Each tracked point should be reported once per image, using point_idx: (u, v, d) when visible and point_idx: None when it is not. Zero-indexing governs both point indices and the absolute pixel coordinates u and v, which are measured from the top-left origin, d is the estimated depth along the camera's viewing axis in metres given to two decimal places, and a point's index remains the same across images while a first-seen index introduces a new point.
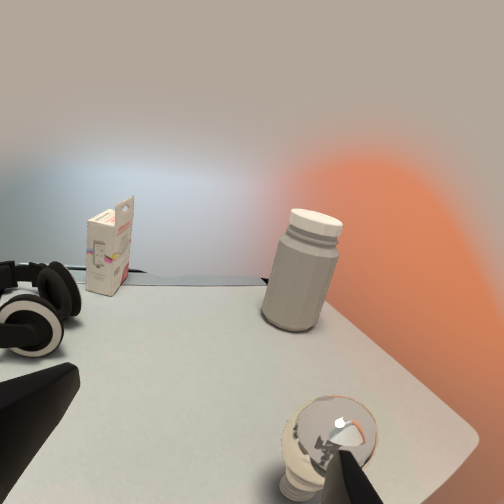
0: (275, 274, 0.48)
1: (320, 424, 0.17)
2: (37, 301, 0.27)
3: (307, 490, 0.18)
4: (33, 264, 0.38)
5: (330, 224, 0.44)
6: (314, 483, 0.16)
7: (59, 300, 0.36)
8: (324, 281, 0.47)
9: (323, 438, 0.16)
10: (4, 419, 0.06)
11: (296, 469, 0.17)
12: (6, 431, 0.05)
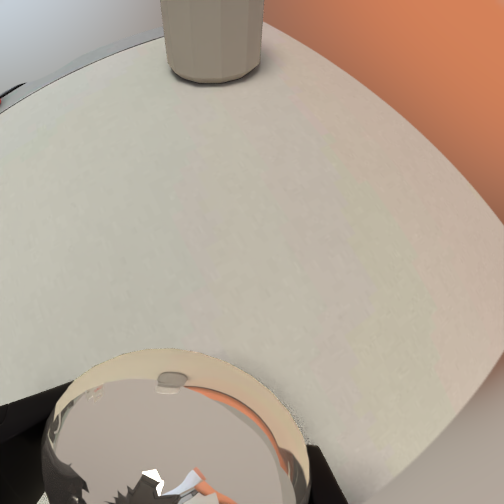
0: (164, 8, 0.21)
1: None
2: None
3: None
4: None
5: None
6: None
7: None
8: None
9: None
10: (29, 438, 0.06)
11: None
12: (31, 450, 0.05)
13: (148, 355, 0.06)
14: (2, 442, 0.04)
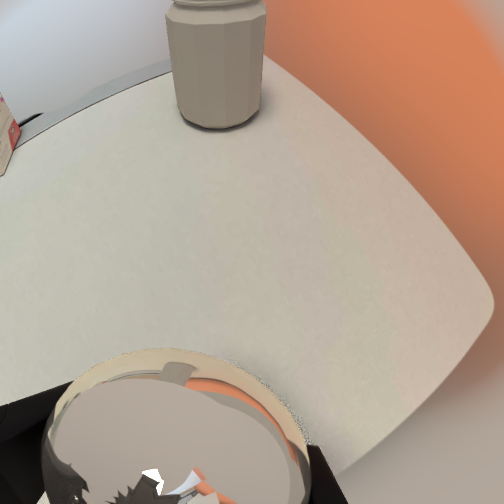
0: (174, 61, 0.26)
1: None
2: None
3: None
4: None
5: None
6: None
7: None
8: (249, 55, 0.25)
9: None
10: (29, 437, 0.06)
11: None
12: (31, 450, 0.05)
13: (148, 355, 0.06)
14: (2, 442, 0.04)
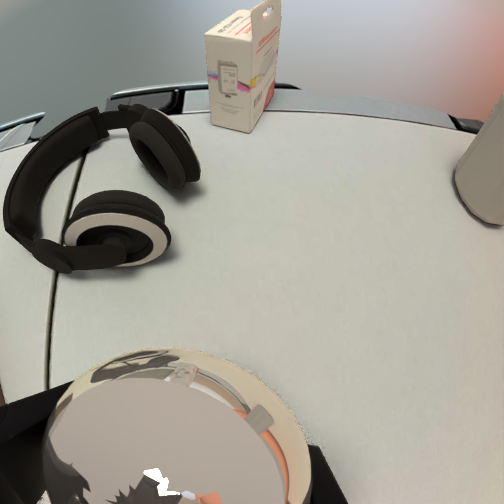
0: (489, 146, 0.24)
1: None
2: (119, 210, 0.19)
3: None
4: (124, 107, 0.28)
5: None
6: None
7: None
8: None
9: None
10: (29, 437, 0.06)
11: None
12: (31, 450, 0.05)
13: (150, 354, 0.06)
14: (2, 442, 0.04)
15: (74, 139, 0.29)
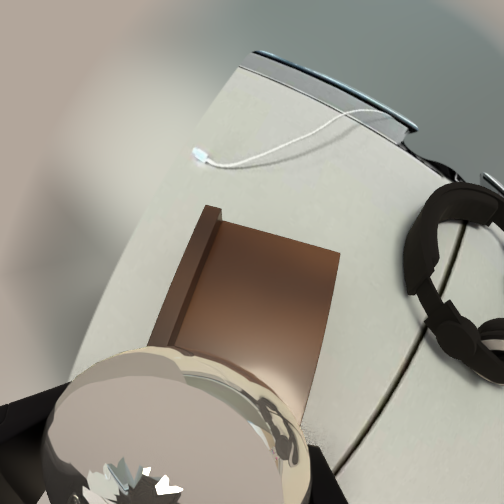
0: None
1: None
2: None
3: None
4: None
5: None
6: None
7: None
8: None
9: None
10: (29, 437, 0.06)
11: None
12: (31, 450, 0.05)
13: (149, 352, 0.06)
14: (2, 442, 0.04)
15: (476, 210, 0.26)
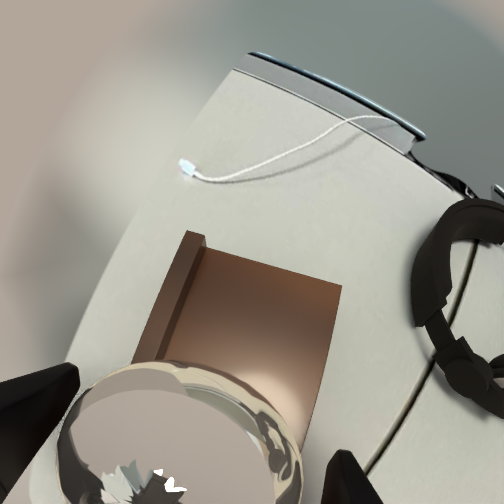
0: None
1: None
2: None
3: None
4: None
5: None
6: None
7: None
8: None
9: None
10: (4, 419, 0.06)
11: None
12: (6, 431, 0.05)
13: (155, 367, 0.07)
14: None
15: (490, 229, 0.23)
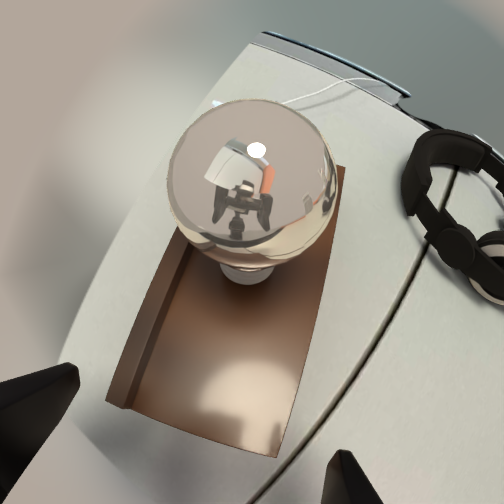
0: None
1: (199, 154, 0.10)
2: None
3: (246, 271, 0.16)
4: None
5: None
6: (232, 266, 0.13)
7: None
8: None
9: (206, 183, 0.10)
10: (4, 419, 0.06)
11: (193, 243, 0.12)
12: (6, 431, 0.05)
13: None
14: None
15: (465, 155, 0.29)
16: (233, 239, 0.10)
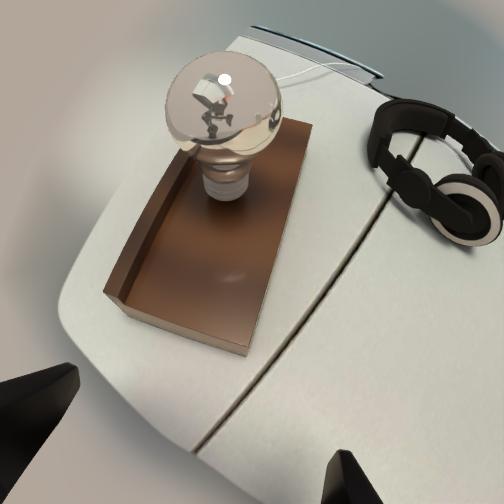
0: None
1: (186, 79, 0.14)
2: (495, 202, 0.22)
3: (222, 179, 0.20)
4: (476, 134, 0.31)
5: None
6: (208, 160, 0.17)
7: None
8: None
9: (190, 94, 0.14)
10: (4, 419, 0.06)
11: (181, 143, 0.17)
12: (6, 431, 0.05)
13: None
14: None
15: (429, 121, 0.34)
16: (207, 129, 0.15)
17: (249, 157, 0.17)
